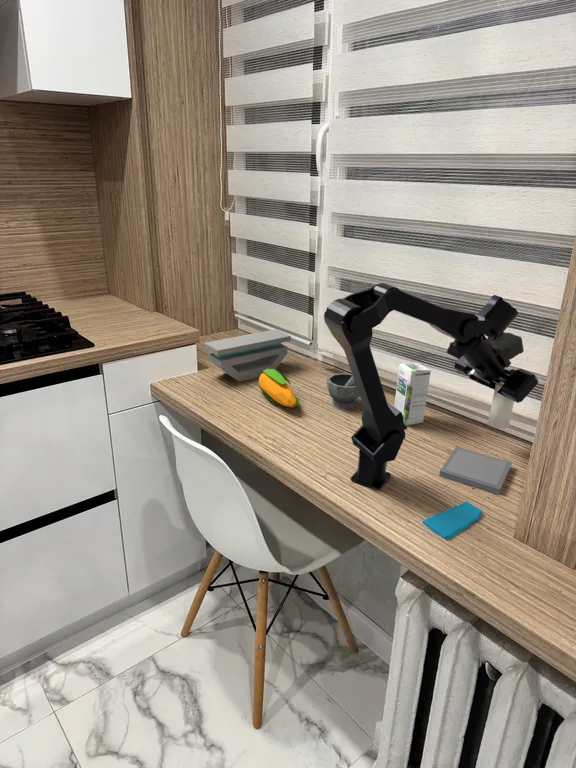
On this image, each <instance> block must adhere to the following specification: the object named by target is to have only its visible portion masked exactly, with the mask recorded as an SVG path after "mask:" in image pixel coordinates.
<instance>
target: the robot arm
mask: <svg viewBox="0 0 576 768" xmlns="http://www.w3.org/2000/svg"><path fill="white" fill-rule="evenodd" d="M392 311H395V312H398V313H401V314H404V315H406V316H409V317H411V318H414V319H417V320H419V321H422V322H424V323H426V324H428V325H429V326H430V327H431V328H433V329H434V330H436V331H437V332H439V333H441V334H442V335H444V336H447V337H450V338H452V339H453V341H451V342H449V346H448V347H447V350H446V353H447V354H448V355H449V356H452V357H453V358H456V359H457V360H455V361H454V367H453V368H454V369H455V371H457V372H458V373H459V374H461V375H463V376H465V377H467V376H468V374H470V375H469V376H468V378H469V379H470V380H472V381H473V382H475V383H478V384H480V385H483V386H485V387H487V388H490V389H492V390H495V385H496V383H497V384H500V383H501V382H502V383H503V385H502V387H501V388H500V389H499V391H498V392H497V393H499V394H501V395H502V396H504V397H507V398H509V399H511V400H513V401H514V403H517V404H519V403H521V402H523V401H524V399H526V397H528V395H529V394H530V393H531V391H533V389H534V388H535V387H536V386H537V385H538V384H539V379H538V378H537V376H536V375H535V374H534V373H532V372H530V371H528V370H525V369H523V368H517V369H509V370H508V369H507V368H509V366H510V365H511V364H512V362H511V360H513V358H515V357H516V356H519V355H520V354H522V353H524V344H523V338H522V337H521V336H519V335H516V334H514V333H511V332H505V331H506V330H507V328H508V327H509V326H510V325H511V324H512V323H513V322H514V321H515V320H516V318H517V317H518V316H519V311H518V310H517V308H516V307H513V305H512V304H510V303H509V302H508V301H506V300H504V298H503V296H499V295H496V294H493V295H492V296H491V297H490V298H489V300H488V302H487V303H486V304H485V305H484V306H483V307H482V309H480V310H479V312H478V313H477V314H476V313H474V312H471V311H466V310H464V309H461V308H459V307H456V306H453V305H447V304H437V303H436V304H435V303H432V302H429V301H427V300H425V299H422V298H419V297H417V296H416V295H415V296H414V295H413V294H409V293H407V292H404V291H403V290H401V289H400V288H399V287H396V286H395V285H394V286H393V285H391V284H388V283H386V282H385V283H384V282H382V283H377V284H375V285H373V286H371V287H370V288H368V289H364V290H360V291H357V292H353V293H351V294H349V295H347V296H345V297H343V298H337V299H334V300H333V301H331V302H330V303H329V304H328V306H327V307H326V310H325V311H324V314H323V318H324V322H325V324H326V326H327V328H328V330H329V331H330V333H331V335H332V337H333V338H334V339H335V340H336V342H337V343H338V345H339V346H340V347H341V348H342V349H343V352H344V353H345V357H346V360H347V363H348V367H349V369H350V371H351V374H352V375H353V378H354V381H355V384H356V387H357V389H358V392H359V395H360V397H359V398H360V401H361V404H362V406H363V412H362V415H361V423H362V424H361V425H360V427H359V428H358V429H357V430H356V431H355V432H354V433H353V434H352V435H351V437H350V438H351V439H350V440H351V441H352V444H353V445H354V447H356V448H357V449H358V462H357V470H356V471H355V472H354V473H353V474H352V476H351V477H350V481H352V482H354V483H357V484H361V485H363V486H366V487H369V488H372V489H374V490H378V491H379V490H382V488H383V487H384V485H385V484H386V483H387V481H389V479H390V478H391V477H392V473H391V472H389V471H387V464H388V462H391V461H396V458H397V456H398V454H399V451H400V449H401V446H403V445H402V444H403V442H404V440H405V439H406V430H407V429H408V427H407V426H405V424H404V420H403V415H402V413H401V412H400V411H399V410H397V409H396V408H394V405H391V404H390V403H389V402H388V400H387V396H386V394H385V391H384V388H383V384H382V382H381V378H380V375H379V372H378V369H377V365H376V362H375V359H374V355H373V352H372V350H371V342H372V339H373V336H374V335H373V334H374V332H373V329H374V328H375V327H377V326H379V325H380V324H382V323H383V321H384V319H385V318H386V317H387V316H388V315H389V314H390V313H391V312H392Z"/></svg>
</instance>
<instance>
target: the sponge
mask: <svg viewBox="0 0 576 768" xmlns="http://www.w3.org/2000/svg"><path fill="white" fill-rule="evenodd" d="M483 513H484V512H483V510H482V509H481V508H479V507H477V506H475V505H473V504H472V503H470V502H469V501H463V502H460V503H459V504H458V505H455V506H453V507H450V508H448V509H445V510H443V511H442V512H438V513H436V514H433V515H431V516H429V517H426V518H425V519H423V520H422V524H423V525H424V526H425V527H426V528H428V529H429V530H431V531H432V532H433V533H435V534H436V535H437V536H439V537H440V536H441V537H440V538H441V539H445V540H448V539H449V540H450V539H451V540H452V539H453V538H455V536H457V535H458V534H460V532H462V531H465V530H466V529H467V528H468V527H469V526H471V525H472V524H474V523H476V522H478V521H479V518H481V515H482V514H483Z"/></svg>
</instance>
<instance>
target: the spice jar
mask: <svg viewBox="0 0 576 768" xmlns="http://www.w3.org/2000/svg"><path fill="white" fill-rule="evenodd" d="M502 385H503V383H502V382H501V383H500V384H497V383H496V385H495V390H494V389H493V390H494V391H493V396H492V400H491V401H492V402H491V407H490V410H489V416H488V422H487V424H488V425H490V426H491V427H492V428H493V427H494V428H495V429H496V428H497V429H508V428H509V426H510V423H511V418H512V413H513V408H514V405H515V404H514V403H515V401H513V400H511V399H509V398H507V397H504V396H502V395H501V394H499V393H497V392H498V391H499V389H500V388H501V387H502Z"/></svg>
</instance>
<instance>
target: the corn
mask: <svg viewBox="0 0 576 768" xmlns="http://www.w3.org/2000/svg"><path fill="white" fill-rule="evenodd" d="M291 384H292V383H291V382H290V379H289V378H288V377H287V376H286V375H285V374H284V373H283V372H282V371H280V370H279V369H266V370H264V371H262V374H261V376H260V377H258V386H259V389H260V391H261V392H262V393H263V394H264V396H265V397H266V398H268V399H269V400H270V401H271V402H272V403H273V404H275V405H278V406H279V404H280V405H281V406H285V407H289V408H294V407H299V406H300V402H299V401H300V400H299V399H298V397H297V396H296V394H295V393H294V391H293V390H292V387H291Z"/></svg>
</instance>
